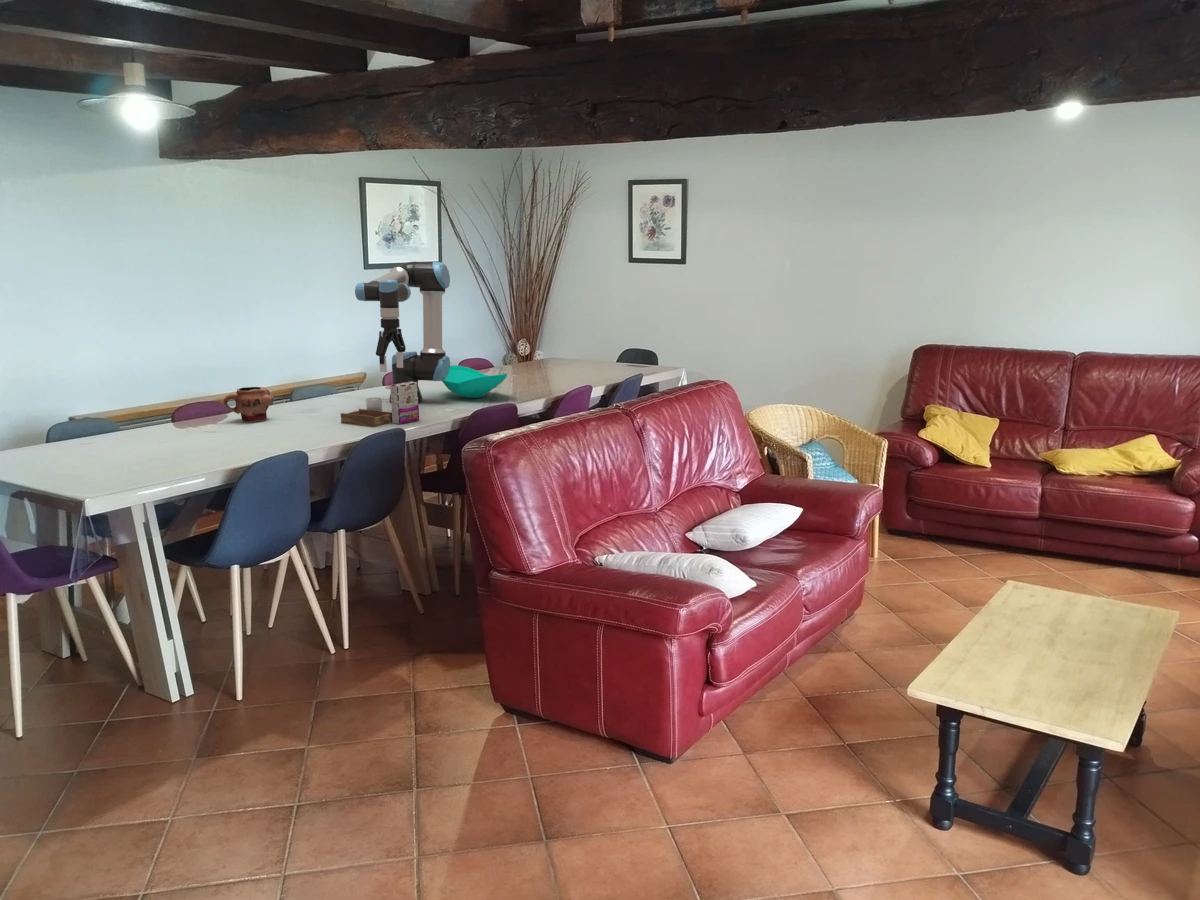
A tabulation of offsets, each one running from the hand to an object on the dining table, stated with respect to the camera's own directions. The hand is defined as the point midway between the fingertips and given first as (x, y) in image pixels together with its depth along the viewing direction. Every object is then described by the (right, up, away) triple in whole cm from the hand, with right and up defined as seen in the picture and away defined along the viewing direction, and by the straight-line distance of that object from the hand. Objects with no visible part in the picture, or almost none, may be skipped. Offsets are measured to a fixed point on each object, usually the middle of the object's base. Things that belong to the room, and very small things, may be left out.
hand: (391, 369), depth 380 cm
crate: (-11, -22, +4) cm, 25 cm away
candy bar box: (+4, -22, +6) cm, 23 cm away
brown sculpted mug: (-60, -21, +4) cm, 64 cm away
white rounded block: (-11, -19, +15) cm, 27 cm away
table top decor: (+24, -8, +66) cm, 71 cm away
